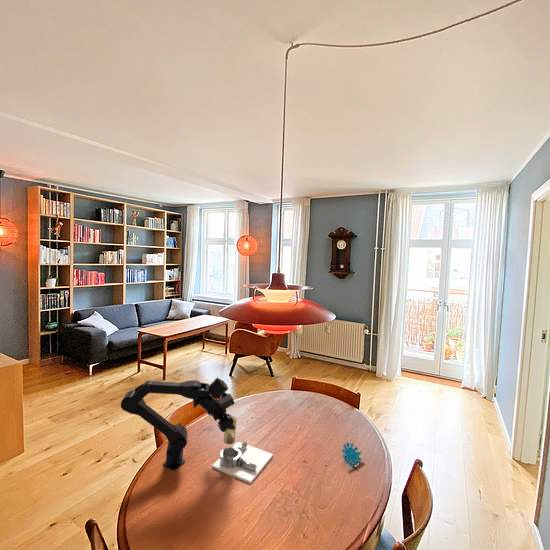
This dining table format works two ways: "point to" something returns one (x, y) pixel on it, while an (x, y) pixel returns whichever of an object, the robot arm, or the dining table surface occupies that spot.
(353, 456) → the gear
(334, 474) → the dining table surface
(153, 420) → the robot arm
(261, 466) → the mounting plate
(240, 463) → the steel cradle
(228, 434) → the cylinder
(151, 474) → the dining table surface
